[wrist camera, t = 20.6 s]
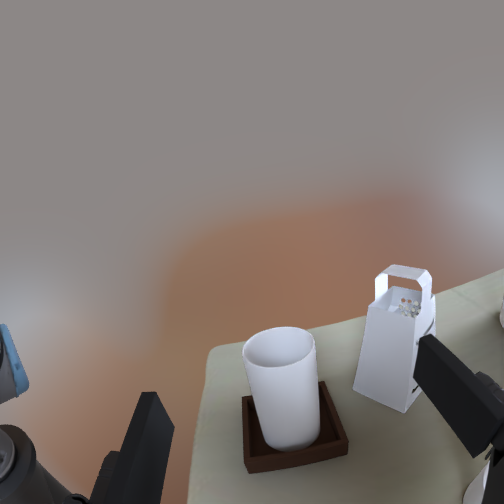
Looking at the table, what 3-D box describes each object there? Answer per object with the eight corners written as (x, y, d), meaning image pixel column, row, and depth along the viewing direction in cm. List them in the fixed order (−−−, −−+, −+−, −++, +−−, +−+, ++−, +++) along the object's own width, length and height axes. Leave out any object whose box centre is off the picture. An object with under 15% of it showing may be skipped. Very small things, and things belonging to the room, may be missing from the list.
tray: (347, 454, 28) (348, 441, 27) (248, 473, 28) (243, 462, 27) (324, 394, 40) (324, 380, 39) (245, 409, 40) (241, 396, 39)
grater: (385, 357, 45) (388, 255, 40) (433, 373, 36) (449, 264, 31) (352, 389, 40) (351, 278, 35) (404, 413, 31) (424, 294, 26)
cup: (319, 408, 37) (313, 323, 33) (320, 449, 29) (317, 364, 25) (266, 412, 38) (247, 329, 34) (260, 452, 31) (235, 370, 27)
